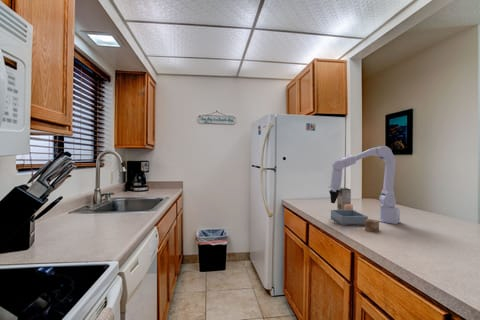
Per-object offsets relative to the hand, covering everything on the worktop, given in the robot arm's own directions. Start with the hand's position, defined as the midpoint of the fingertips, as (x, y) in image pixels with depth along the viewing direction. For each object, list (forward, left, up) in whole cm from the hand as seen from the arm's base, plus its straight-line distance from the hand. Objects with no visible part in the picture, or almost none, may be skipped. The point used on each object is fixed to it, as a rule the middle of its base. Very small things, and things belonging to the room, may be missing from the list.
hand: (333, 202), depth 150 cm
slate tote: (-9, 0, -10) cm, 14 cm away
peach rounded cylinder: (-3, -15, -10) cm, 18 cm away
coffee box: (+5, -26, -11) cm, 28 cm away
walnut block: (-25, +9, -10) cm, 29 cm away
